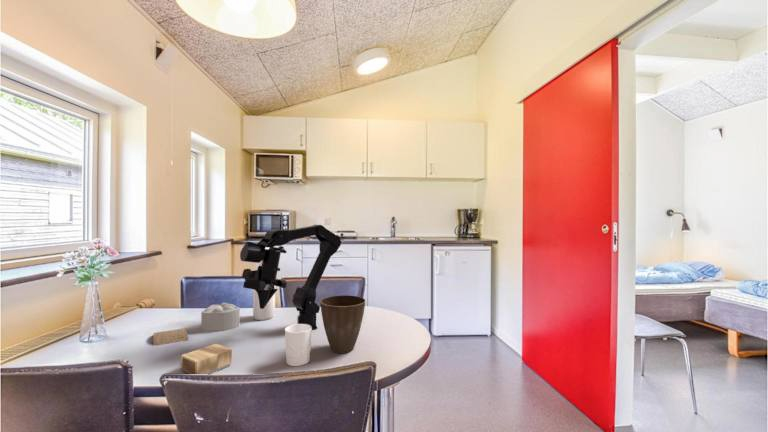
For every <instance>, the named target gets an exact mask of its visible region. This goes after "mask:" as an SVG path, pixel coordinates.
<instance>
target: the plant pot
mask: <svg viewBox="0 0 768 432" xmlns="http://www.w3.org/2000/svg"><path fill="white" fill-rule="evenodd" d="M365 307H366V299H365V298H364V297H361V296H359V295H358V296H357V295H349V294H346V295H345V294H344V295H341V294H340V295H331V296H326V297H324V298H322V299H320V310H321V311H320V312H321V316H322V317H321V318H322V322H323V328H324V331H325V335H326V338H327V341H328V345H329V348H330V350H331V351H332V352H334V353H336V354H345V353H350V352H352V351H353V350H354V349H355V346H356V343H357V340H358V338H359V335H360V331H361V328H362V327H361V326H362V323H363V319H364V318H363V317H364V313H365Z"/></svg>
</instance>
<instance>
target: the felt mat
mask: <svg viewBox="0 0 768 432" xmlns="http://www.w3.org/2000/svg"><path fill="white" fill-rule="evenodd" d="M228 366H229V367H231V365H230V364H228V365H225V366H223V367H220V368H218V369H216V370H213V371H211V372H208V373H206V374H210V375H211V373H212V374H214V373H213V372H215V373H216V371H217V372H220V371H222V370H223V368H224V369H227V368H229V367H228ZM226 367H227V368H226ZM221 369H222V370H221Z"/></svg>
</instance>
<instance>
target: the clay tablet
mask: <svg viewBox="0 0 768 432" xmlns="http://www.w3.org/2000/svg"><path fill="white" fill-rule="evenodd" d="M152 335H153V337H152V338H153V346H154V347H157V346H163V345H169V344H175V343H181V342H187V341H188V340H189V338H188V331H187V328H186V327H184V328H179V329H172V330H164V331H157V332H153V334H152Z"/></svg>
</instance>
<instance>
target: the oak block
mask: <svg viewBox="0 0 768 432" xmlns="http://www.w3.org/2000/svg"><path fill="white" fill-rule="evenodd" d="M232 350H233V349H232V348H230V347H227V346H224V345H222V344H218V343H213V344H211V345H207V346H205V347H201V348H198V349H196V350H193V351H189V352H186V353H183V354H182V355H181V357H180V358H181V360H180V361H181V362H180V365H181V366H180V367H181V368H180V370H181V371H184V372H185V373H187V374H189V375H191V374H206V373H208V372H211V371H213V370H216V369H218V368H220V367H223V366H225V365H228V364H229V365H230V364H232V359H233V357H232V356H233V354H232V352H233V351H232Z"/></svg>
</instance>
